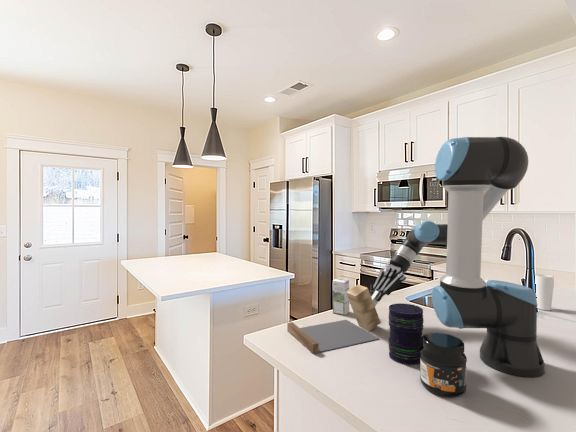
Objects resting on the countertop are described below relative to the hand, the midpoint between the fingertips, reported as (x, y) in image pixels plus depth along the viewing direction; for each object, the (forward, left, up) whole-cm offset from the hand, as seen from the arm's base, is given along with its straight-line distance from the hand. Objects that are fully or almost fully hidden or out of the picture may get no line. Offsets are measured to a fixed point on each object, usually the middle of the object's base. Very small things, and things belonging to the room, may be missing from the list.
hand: (370, 306), depth 118 cm
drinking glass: (+26, -79, -8) cm, 84 cm away
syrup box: (+14, +10, -8) cm, 19 cm away
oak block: (-2, 0, -6) cm, 7 cm away
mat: (-10, +14, -7) cm, 19 cm away
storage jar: (-25, -7, -8) cm, 27 cm away
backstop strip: (-17, +25, -7) cm, 31 cm away
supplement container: (-40, -12, -8) cm, 42 cm away
